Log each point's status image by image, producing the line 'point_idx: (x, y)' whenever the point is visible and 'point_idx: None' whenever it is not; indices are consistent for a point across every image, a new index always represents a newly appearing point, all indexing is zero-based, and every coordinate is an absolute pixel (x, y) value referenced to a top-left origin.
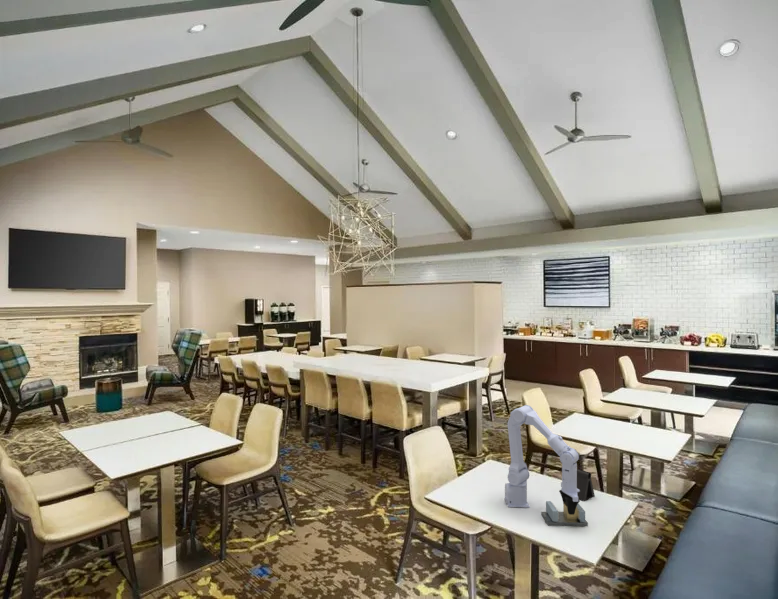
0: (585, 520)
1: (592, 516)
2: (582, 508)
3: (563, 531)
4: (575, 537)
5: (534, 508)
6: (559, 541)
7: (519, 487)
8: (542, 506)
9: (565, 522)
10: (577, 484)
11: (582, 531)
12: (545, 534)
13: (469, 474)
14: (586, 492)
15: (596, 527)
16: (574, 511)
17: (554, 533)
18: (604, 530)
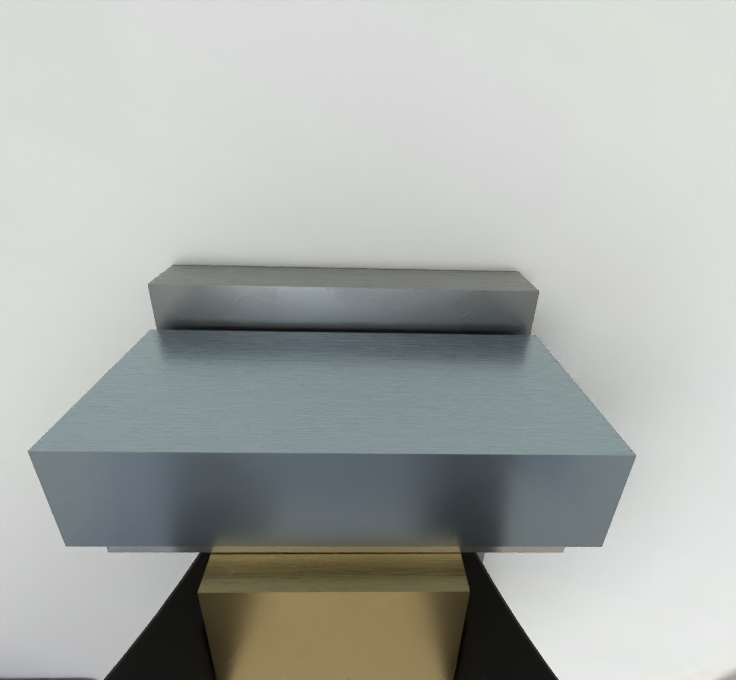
0: (463, 299)
1: (153, 9)
2: (460, 460)
3: (575, 558)
4: (718, 499)
5: (98, 652)
6: (725, 623)
7: None
8: (18, 590)
9: (484, 552)
10: None
11: (626, 390)
12: (589, 674)
13: None
14: None
15: (570, 138)
16: (486, 575)
17: (591, 623)
18: (700, 28)
